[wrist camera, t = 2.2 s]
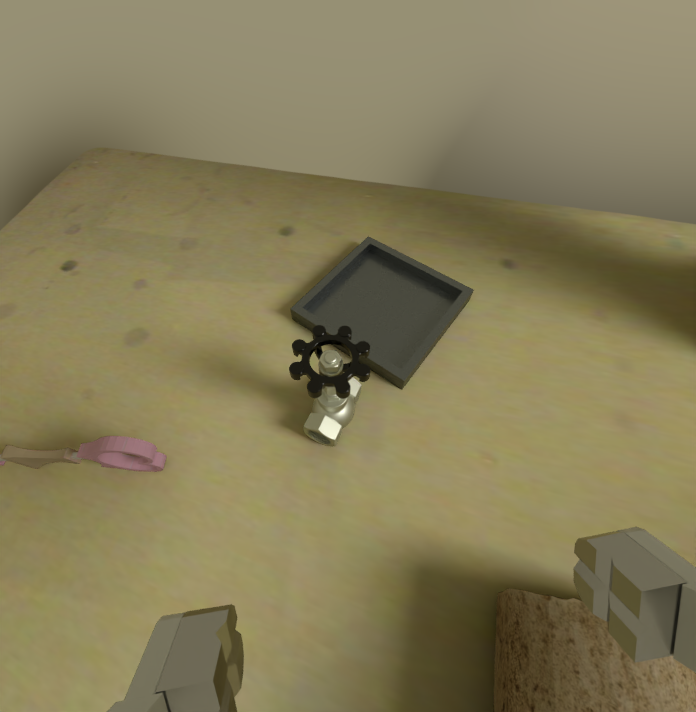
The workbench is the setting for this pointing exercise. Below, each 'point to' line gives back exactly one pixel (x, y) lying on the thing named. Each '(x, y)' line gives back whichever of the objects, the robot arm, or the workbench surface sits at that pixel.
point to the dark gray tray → (385, 307)
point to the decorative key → (94, 454)
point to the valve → (330, 382)
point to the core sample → (576, 663)
